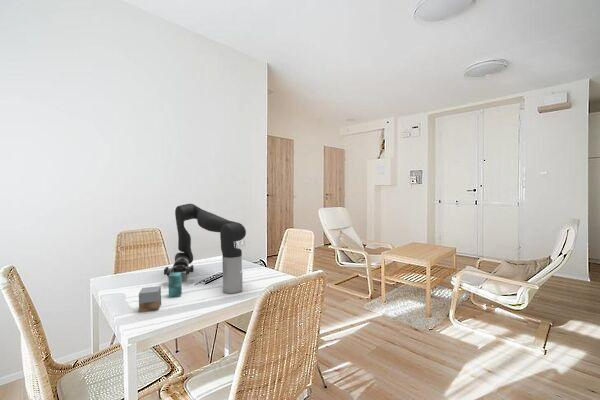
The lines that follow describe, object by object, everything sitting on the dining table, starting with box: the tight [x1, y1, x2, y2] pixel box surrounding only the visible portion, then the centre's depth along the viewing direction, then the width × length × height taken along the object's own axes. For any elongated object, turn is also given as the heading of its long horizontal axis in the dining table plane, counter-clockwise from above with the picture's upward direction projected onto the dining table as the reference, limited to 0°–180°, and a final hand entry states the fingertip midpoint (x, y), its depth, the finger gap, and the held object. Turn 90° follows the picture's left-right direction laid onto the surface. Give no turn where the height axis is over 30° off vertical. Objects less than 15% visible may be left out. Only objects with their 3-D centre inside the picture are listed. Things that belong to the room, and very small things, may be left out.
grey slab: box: [138, 285, 162, 304], centre depth 115 cm, size 7×7×4 cm
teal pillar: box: [167, 272, 183, 299], centre depth 129 cm, size 5×5×10 cm
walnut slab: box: [138, 295, 162, 314], centre depth 115 cm, size 7×7×4 cm
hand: (177, 273), depth 140 cm, fingers open, 8 cm apart
